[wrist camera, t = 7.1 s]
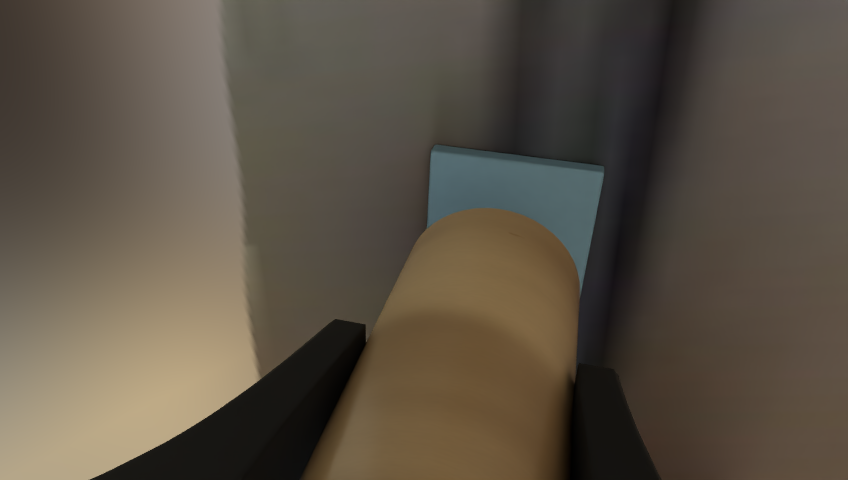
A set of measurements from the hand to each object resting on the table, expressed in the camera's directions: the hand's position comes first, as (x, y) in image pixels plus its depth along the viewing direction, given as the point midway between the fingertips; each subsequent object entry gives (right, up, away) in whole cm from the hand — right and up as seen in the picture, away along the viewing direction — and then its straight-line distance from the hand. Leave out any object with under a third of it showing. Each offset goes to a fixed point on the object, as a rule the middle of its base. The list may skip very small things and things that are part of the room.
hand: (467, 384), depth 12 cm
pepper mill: (+1, +2, +3) cm, 3 cm away
